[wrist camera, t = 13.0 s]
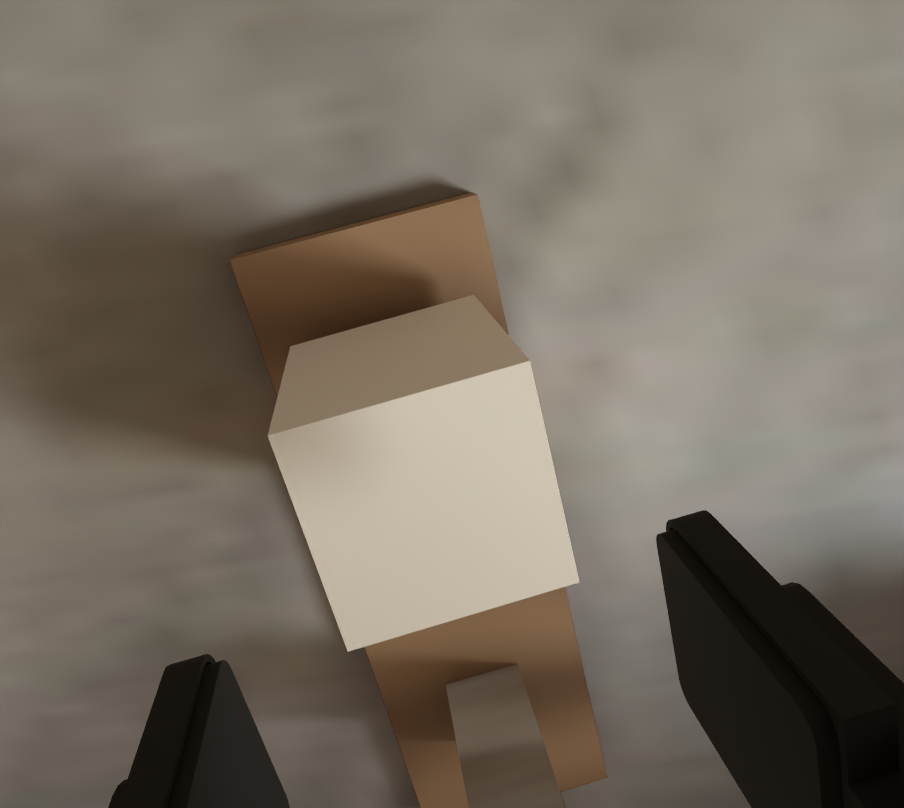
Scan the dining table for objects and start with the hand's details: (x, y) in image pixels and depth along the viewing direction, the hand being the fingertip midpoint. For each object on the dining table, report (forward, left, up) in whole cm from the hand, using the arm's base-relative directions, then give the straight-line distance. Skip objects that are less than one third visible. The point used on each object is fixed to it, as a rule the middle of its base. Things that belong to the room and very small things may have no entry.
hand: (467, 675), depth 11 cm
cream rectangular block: (0, 0, -12) cm, 12 cm away
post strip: (-6, 0, -14) cm, 15 cm away
